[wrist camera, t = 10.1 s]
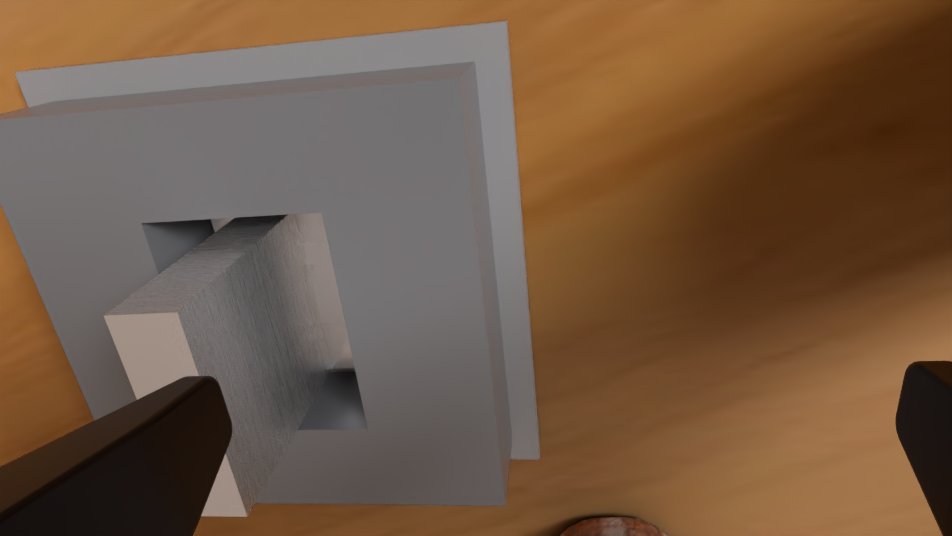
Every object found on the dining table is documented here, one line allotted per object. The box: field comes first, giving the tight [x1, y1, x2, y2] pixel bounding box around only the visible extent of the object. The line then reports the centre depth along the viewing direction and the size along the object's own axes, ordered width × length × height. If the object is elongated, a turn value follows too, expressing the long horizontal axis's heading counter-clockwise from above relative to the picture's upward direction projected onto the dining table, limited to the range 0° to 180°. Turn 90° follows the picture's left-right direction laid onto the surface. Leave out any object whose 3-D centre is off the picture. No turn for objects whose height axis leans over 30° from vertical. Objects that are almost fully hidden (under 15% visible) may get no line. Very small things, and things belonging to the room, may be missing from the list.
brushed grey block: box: [104, 212, 355, 517], centre depth 19 cm, size 4×6×8 cm, turn 6°
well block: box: [0, 20, 540, 506], centre depth 21 cm, size 16×16×4 cm
